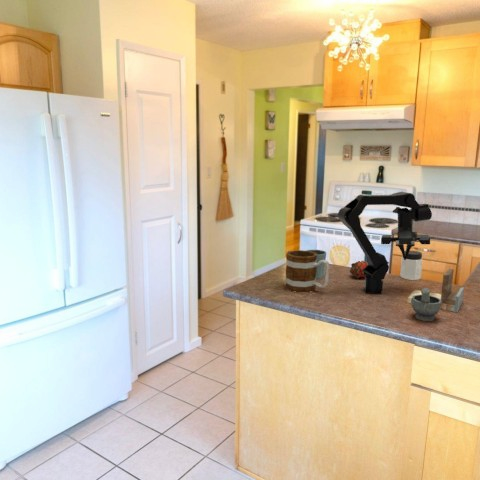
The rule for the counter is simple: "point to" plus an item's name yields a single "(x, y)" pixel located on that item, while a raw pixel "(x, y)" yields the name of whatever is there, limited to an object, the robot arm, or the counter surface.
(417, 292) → the board
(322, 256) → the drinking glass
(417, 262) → the jar
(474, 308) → the counter surface
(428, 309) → the mortar and pestle
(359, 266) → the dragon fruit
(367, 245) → the robot arm
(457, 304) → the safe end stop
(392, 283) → the counter surface
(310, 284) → the mug
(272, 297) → the counter surface
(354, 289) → the counter surface
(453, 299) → the bookend block
